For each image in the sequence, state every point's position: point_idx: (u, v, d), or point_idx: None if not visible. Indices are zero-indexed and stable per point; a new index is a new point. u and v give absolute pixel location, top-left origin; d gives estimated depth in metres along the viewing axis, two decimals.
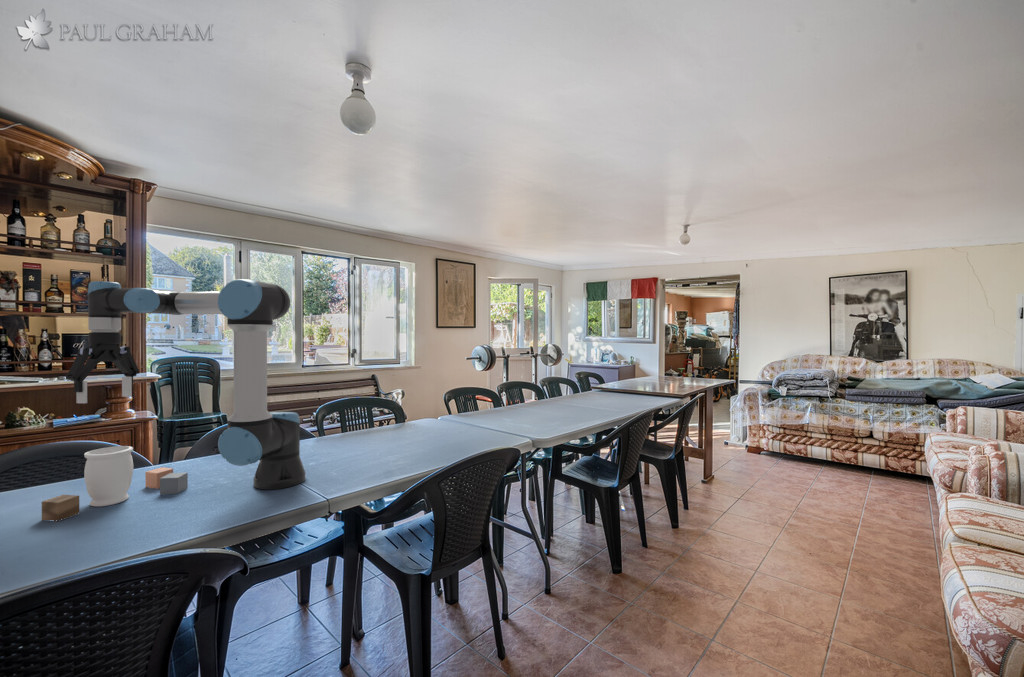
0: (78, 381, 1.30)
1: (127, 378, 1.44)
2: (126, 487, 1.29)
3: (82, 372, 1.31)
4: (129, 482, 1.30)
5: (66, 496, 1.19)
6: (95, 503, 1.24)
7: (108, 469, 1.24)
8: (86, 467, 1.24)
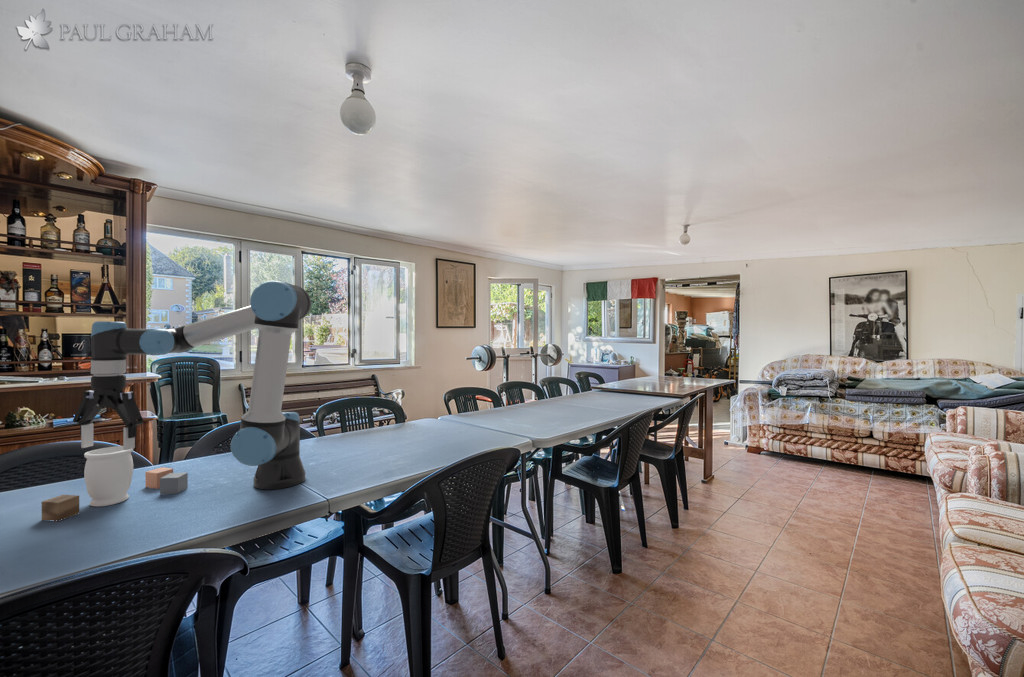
0: None
1: None
2: (126, 487, 1.29)
3: None
4: (129, 482, 1.30)
5: (66, 496, 1.19)
6: (95, 503, 1.24)
7: (108, 469, 1.24)
8: (86, 467, 1.24)
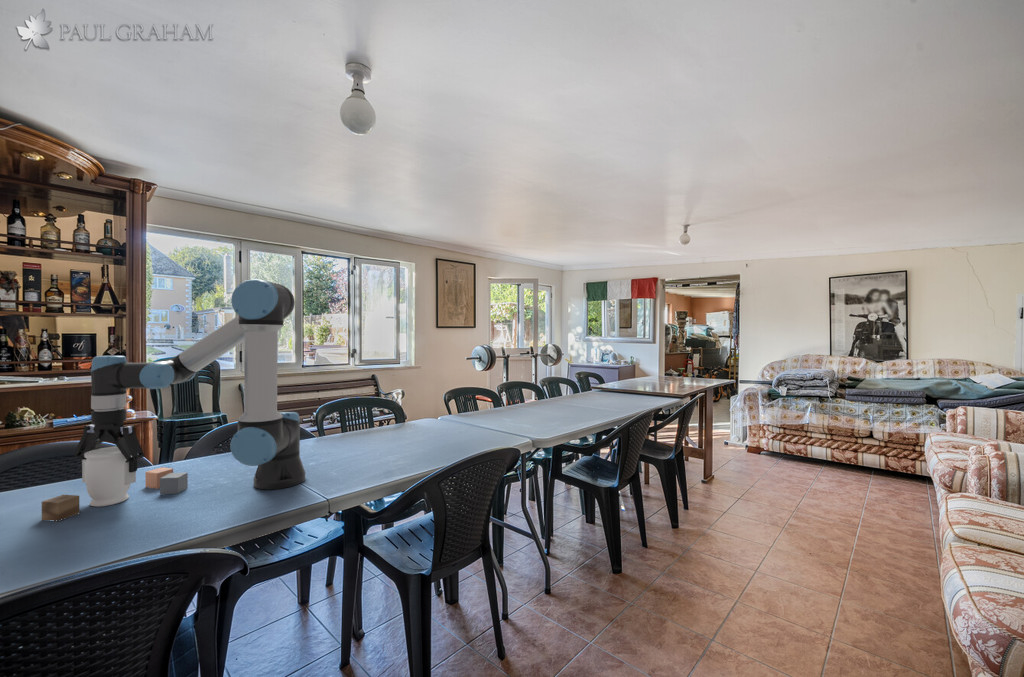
0: None
1: None
2: (126, 487, 1.29)
3: None
4: None
5: (66, 496, 1.19)
6: (95, 503, 1.24)
7: (108, 469, 1.24)
8: (86, 467, 1.24)
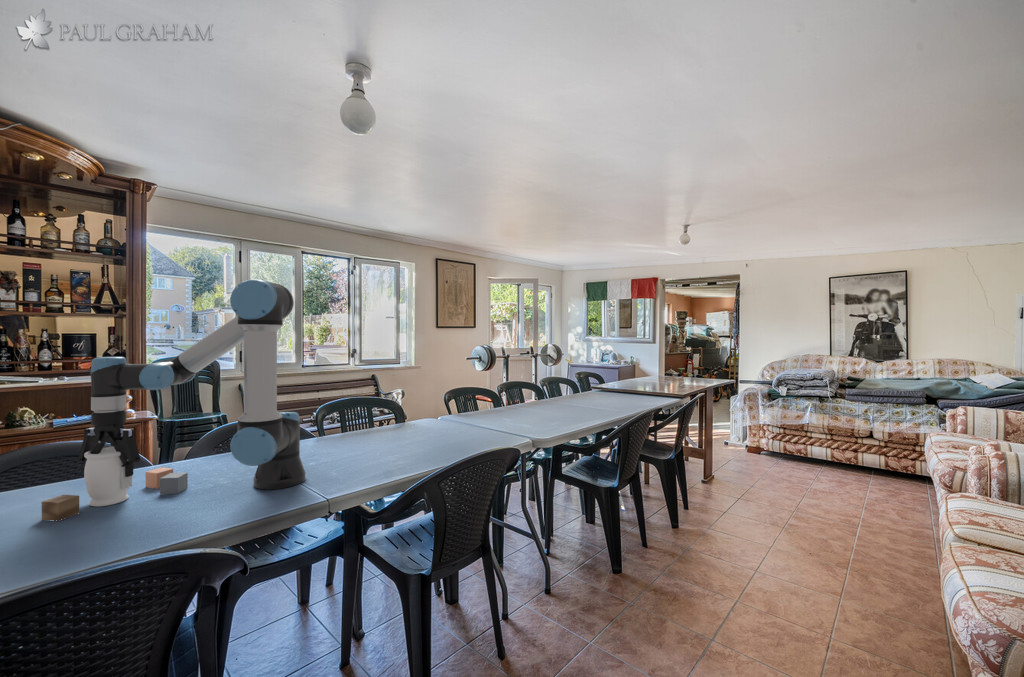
0: (85, 463, 1.28)
1: None
2: None
3: None
4: None
5: (66, 496, 1.19)
6: (95, 503, 1.24)
7: (108, 469, 1.24)
8: (86, 467, 1.24)
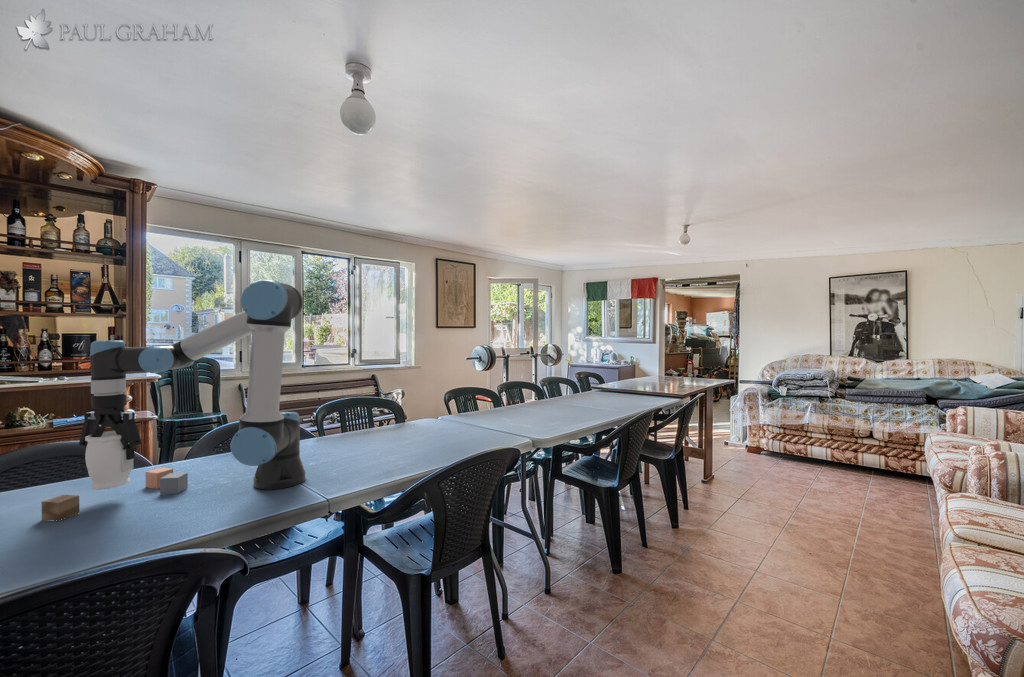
0: None
1: None
2: None
3: None
4: None
5: (66, 496, 1.19)
6: (97, 486, 1.24)
7: (109, 452, 1.24)
8: (87, 450, 1.24)
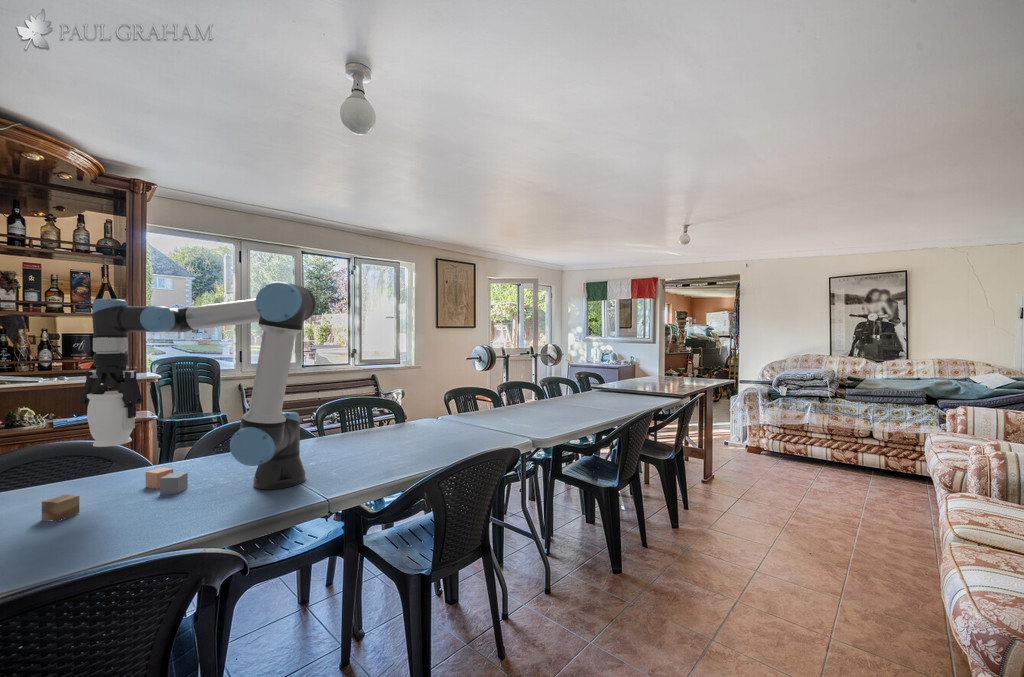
0: None
1: None
2: (129, 429, 1.29)
3: None
4: None
5: (66, 496, 1.19)
6: (99, 443, 1.25)
7: (110, 409, 1.25)
8: (89, 407, 1.24)
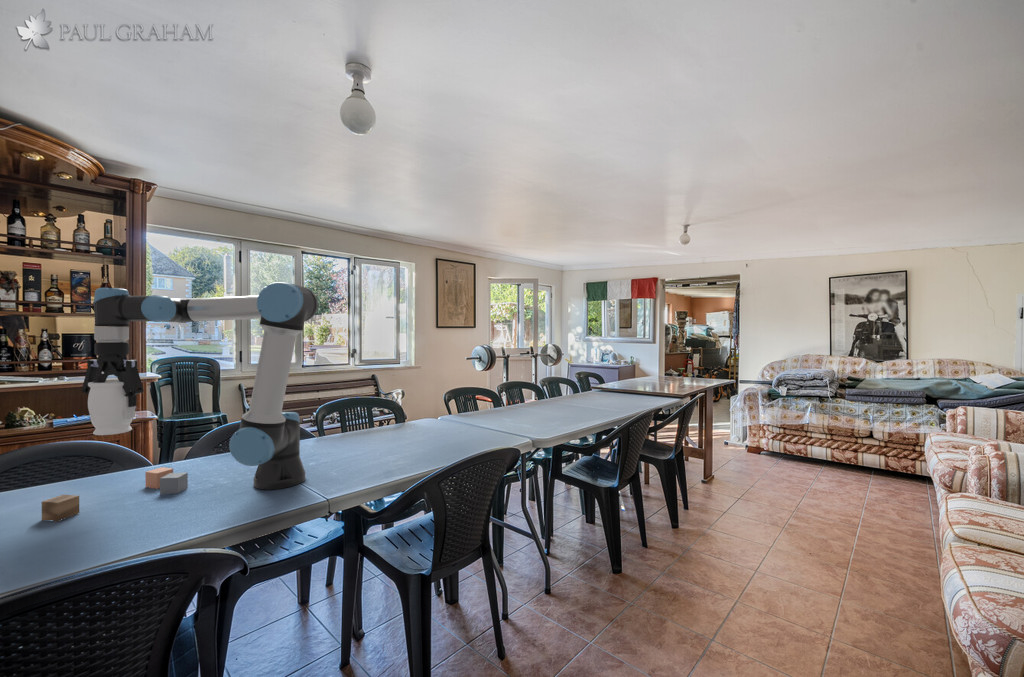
0: None
1: None
2: (129, 418, 1.30)
3: None
4: None
5: (66, 496, 1.19)
6: (99, 432, 1.25)
7: (111, 398, 1.25)
8: (90, 395, 1.24)
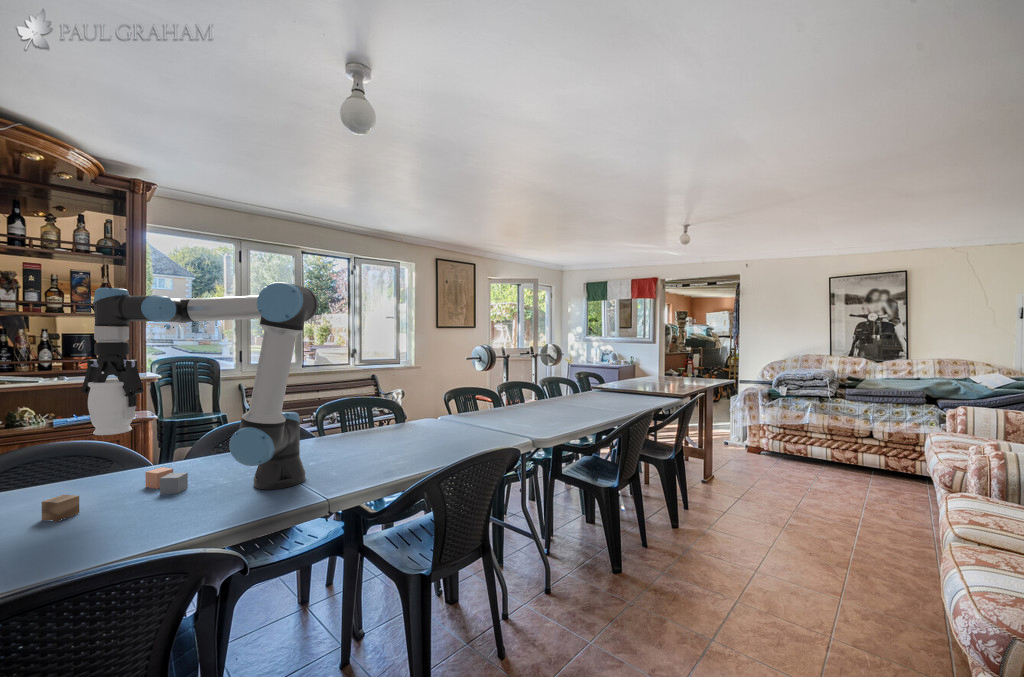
0: None
1: None
2: (129, 418, 1.30)
3: None
4: None
5: (66, 496, 1.19)
6: (99, 432, 1.25)
7: (111, 398, 1.25)
8: (90, 395, 1.24)
